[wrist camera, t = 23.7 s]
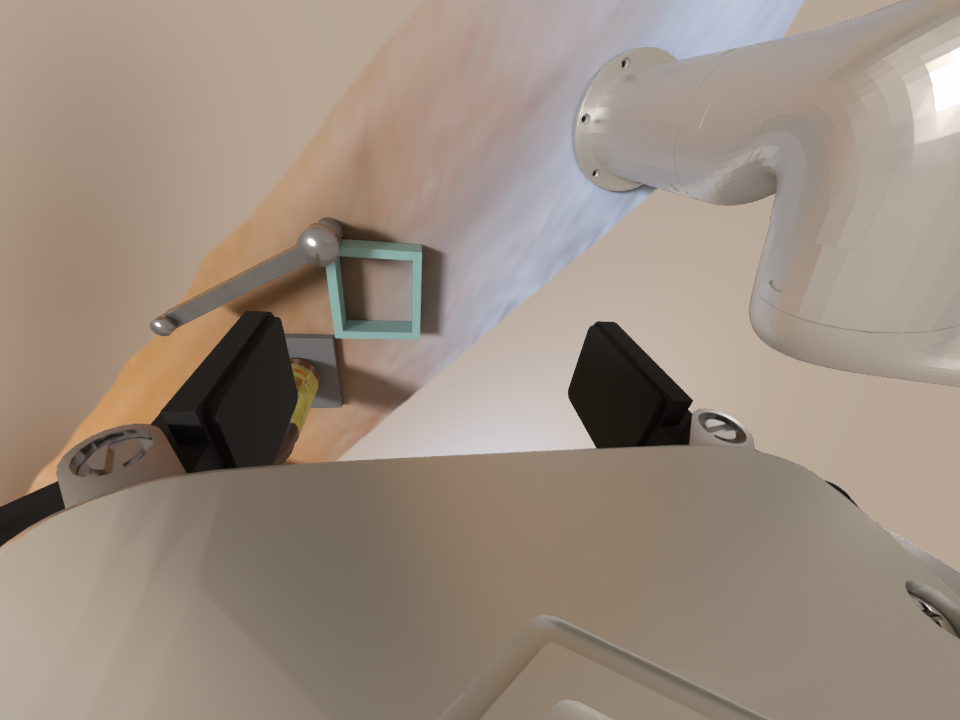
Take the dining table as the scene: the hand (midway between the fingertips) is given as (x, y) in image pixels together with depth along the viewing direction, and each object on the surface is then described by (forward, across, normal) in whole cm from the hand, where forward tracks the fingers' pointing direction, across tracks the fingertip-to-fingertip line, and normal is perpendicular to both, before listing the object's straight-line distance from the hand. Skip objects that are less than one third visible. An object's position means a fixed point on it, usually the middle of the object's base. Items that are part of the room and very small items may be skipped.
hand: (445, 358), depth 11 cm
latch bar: (+29, +17, +10) cm, 35 cm away
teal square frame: (+33, +6, +11) cm, 35 cm away
